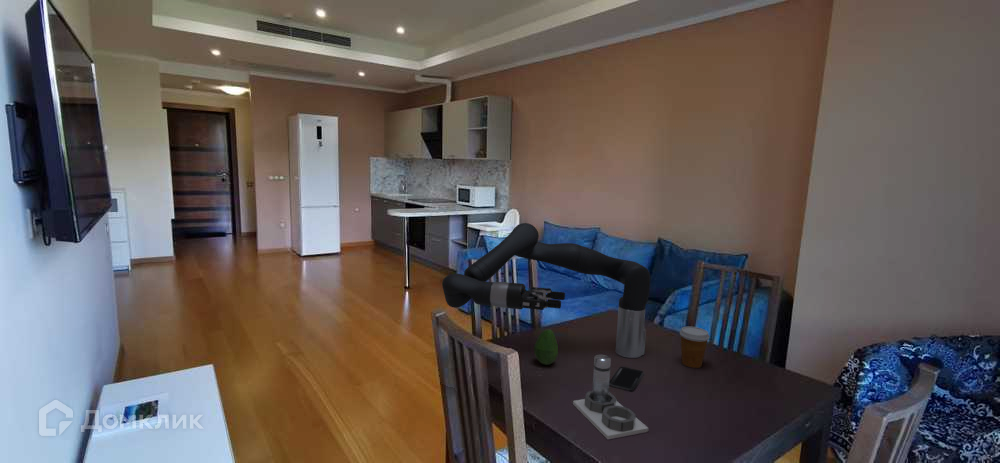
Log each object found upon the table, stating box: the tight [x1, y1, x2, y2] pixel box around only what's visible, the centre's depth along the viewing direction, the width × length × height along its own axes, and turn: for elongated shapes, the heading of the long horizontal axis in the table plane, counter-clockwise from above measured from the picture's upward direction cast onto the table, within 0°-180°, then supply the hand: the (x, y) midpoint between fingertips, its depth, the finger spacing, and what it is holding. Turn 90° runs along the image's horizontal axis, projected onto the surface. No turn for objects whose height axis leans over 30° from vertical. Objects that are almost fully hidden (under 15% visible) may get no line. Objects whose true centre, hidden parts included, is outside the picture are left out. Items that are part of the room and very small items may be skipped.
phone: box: [609, 366, 645, 393], centre depth 150 cm, size 8×1×15 cm
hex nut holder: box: [572, 390, 649, 440], centre depth 127 cm, size 12×18×4 cm, turn 19°
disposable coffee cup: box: [679, 326, 710, 369], centre depth 163 cm, size 10×10×12 cm
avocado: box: [534, 328, 559, 366], centre depth 160 cm, size 8×8×12 cm
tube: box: [591, 354, 612, 403], centre depth 131 cm, size 4×4×14 cm
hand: (562, 300), depth 136 cm, fingers open, 8 cm apart
